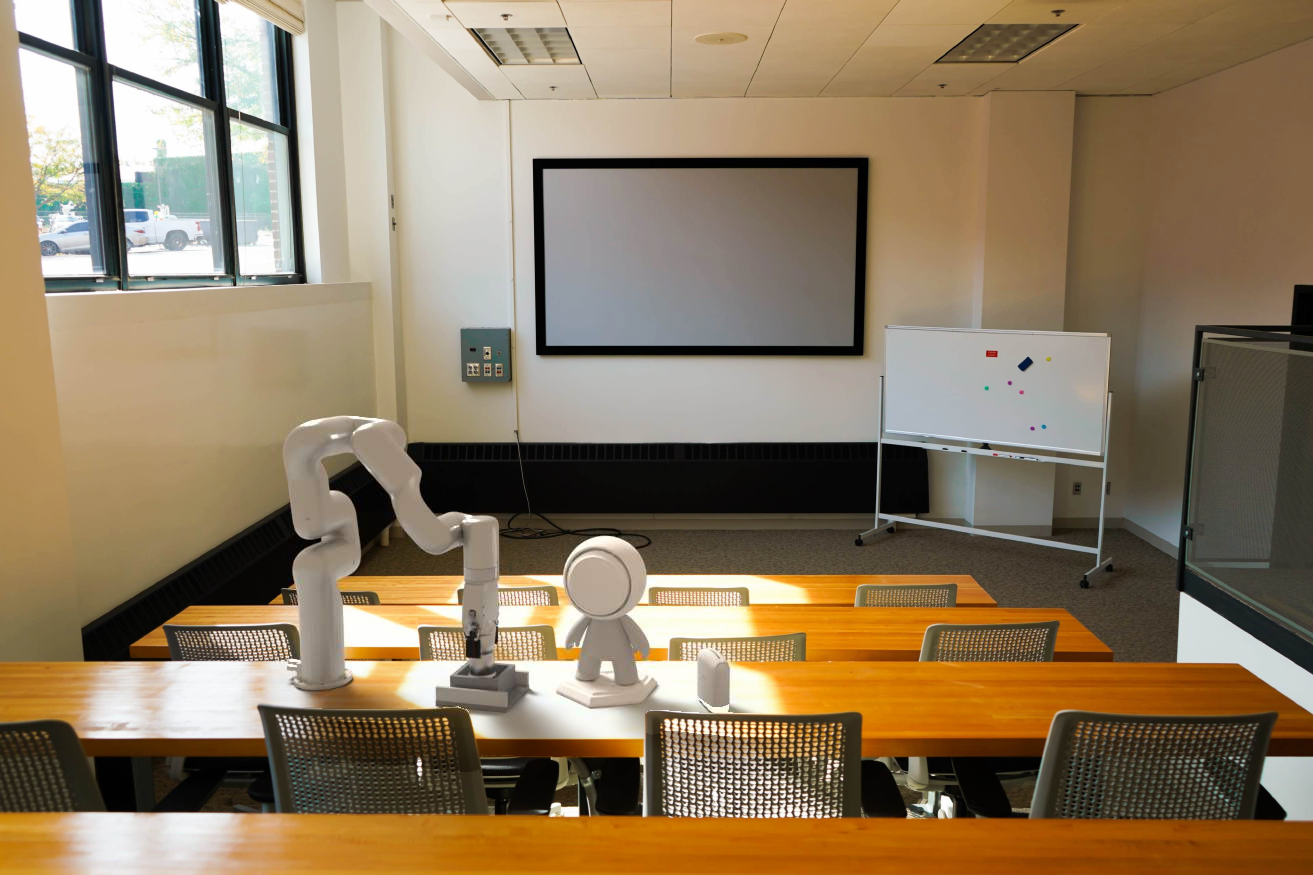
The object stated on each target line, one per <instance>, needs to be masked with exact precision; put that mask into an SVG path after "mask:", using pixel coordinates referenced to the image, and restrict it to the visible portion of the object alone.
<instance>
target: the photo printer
mask: <svg viewBox="0 0 1313 875" xmlns="http://www.w3.org/2000/svg"><path fill="white" fill-rule="evenodd" d="M696 661H697V662H696V664H697V665H696V666H697V668H696V669H697V672H696V675H697V677H696V678H697V681H696V682H697V683H696V686H697V689H696V690H697V692H696V693H697V696H698V697H699V698H700V699H702V700H703V701H704V702H706V703H707V704H709V705H710V706H712V707H723V706H726V705H728V704H731V703H730V700H731V699H730V695H731V692H730V691H731V690H730V688H731V687H730V685H731V684H730V682H731V680H730V678H731V676H730V675H731V674H730V673H731V668H730V667H731V666H730V664H729V662H728V660H727V659H726V658H725V656H724V655H723V654H722V653H721V652H719V651H718V650H717V649H715V648H713V647H707V648H702V649H701V650H700V651H699V652H698V654H697V660H696ZM697 696H696V697H697ZM698 697H697V698H698Z"/></svg>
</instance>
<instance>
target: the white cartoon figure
mask: <svg viewBox="0 0 1313 875" xmlns="http://www.w3.org/2000/svg"><path fill="white" fill-rule="evenodd" d="M563 568H564V569H563V573H562V584H563V588H564V592H565V594H566V597H567V599H568V601H569V602H570V604H571V605H572V607H574V609H576V610H577V611H578V612H579V613H580V614H582V615H581V616H580V618H578V619H577V620H576V621H575V623H573V625H572V626H571V627H570V629H569V631H568V632H567V635H566V637H565V642H564V647H565V650H566V651H567V652H569V651H571V649H573V648H574V647H576V648H579V646H580V643H581V641H582V638H583V636H584V639H583V642H582V644H581V648H580V652H579V656H578V662H577V667H576V670H575V671H574V672H573V673H571V674H570V675H569V676H568V677H567V678H566V679H565V680H564V681H563V682H561V683H560V685H559V686H558V687H557V688H556V692H555V693H556V694H559V695H560V696H562V695H563V697H564V698H567V699H570V700H571V701H574V702H575V703H578V704H579V705H580V704H581V705H583V706H585V707H587V708H589V709H591V708H601V707H602V708H603V707H612V706H613V707H614V706H624V705H637V704H639V705H640V704H642V703H643V702H644V701H646V699H647V698H648V697H649V695H650V694H651V692H652V691H653V690H654V689H655V687H657V685H658V681H657V680H656V679H655V678H654V677H653V676H651V675H648V674H646V673H643V672H642V671H641V672H640V671H638V668H637V662H636V658H635V654H638V653H639V654H640V655H641V659H642V660H646V659H647V658H649V656H650V654H651V646H650V643H649V642H650V641H649V640H648V637H647V636H646V634H645V633H644V631H643V630H642V629H641V627H640V626H639V624H638V623H637V622H636V621H635V620H634V619H633V618H632V617H631V616H630V615H628V614H629V613H630V612H631V611H632V610H633V609H634V608H635V607H637V605H638V604H639V602H640V601H641V600H642V597H643V596H644V593H645V591H646V586H647V577H648V576H647V575H648V574H647V568H646V564H645V562H644V560H643V558H642V556H641V554H640V553H639V551H638V550H637V549H636V548H635V547H634V546H633V545H632V544H631V543H629V542H628V541H626V540H624V539H622V538H619V537H616V536H609V535H600V536H595V537H591V538H589V539H587V540H585V541H583V542H582V543H580V544H579V545H577V546H576V547H575V548H574V550H573V551H572V552H571V553H570V554H569V556H568V557H567V560H566V562H565V565H564V567H563ZM603 661H608V662H609V661H611V665H610V664H609V665H602V662H603Z"/></svg>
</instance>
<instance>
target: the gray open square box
mask: <svg viewBox="0 0 1313 875" xmlns="http://www.w3.org/2000/svg"><path fill="white" fill-rule="evenodd" d="M469 665H470V659H469V660H468V661H466V662H465V663H464V664H462V665H461V666H460V667H459V668H458V669H457V670H455V671H454V672H453V673H452V674H450V676H449V686H445V685H436V686H435V706H437V707H438V706H439V707H448V706H459V707H465V708H464V709H468V710H469V709H470V710H479V711H489V712H500V713H507V712H508V711H509V710H510V709H511V708H512V707H513V706H514V705H515V703H517V702H518V700H520V698H522V696H523V695H525V693H526V692H527V691H528V690H529V689H530V672H529V670H519V669H518V670H517V669H516V664H512V663H504V662H495V670H496V673H497V677H496V678H486V677H475V676H468V674H469Z"/></svg>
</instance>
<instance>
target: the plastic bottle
mask: <svg viewBox="0 0 1313 875" xmlns="http://www.w3.org/2000/svg"><path fill="white" fill-rule="evenodd" d="M472 625H476V626H478V625H479V624H472ZM496 626H497V625H495V622H494V620H493V619H492V618H491V619H490V620H489V621H488V623H487V625H486V627H485V628H483V629H481V632H480V636H479V639H478V640H480V643H481V657H480V658H479V659H476V658H469V660H470V665H469V674H468V676H475V677H486V678H496V677H497V673H496V670H495V663H496V662H495V644H494V643H495V635H496ZM472 631H473V632H474V633H476V630H472Z"/></svg>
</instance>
